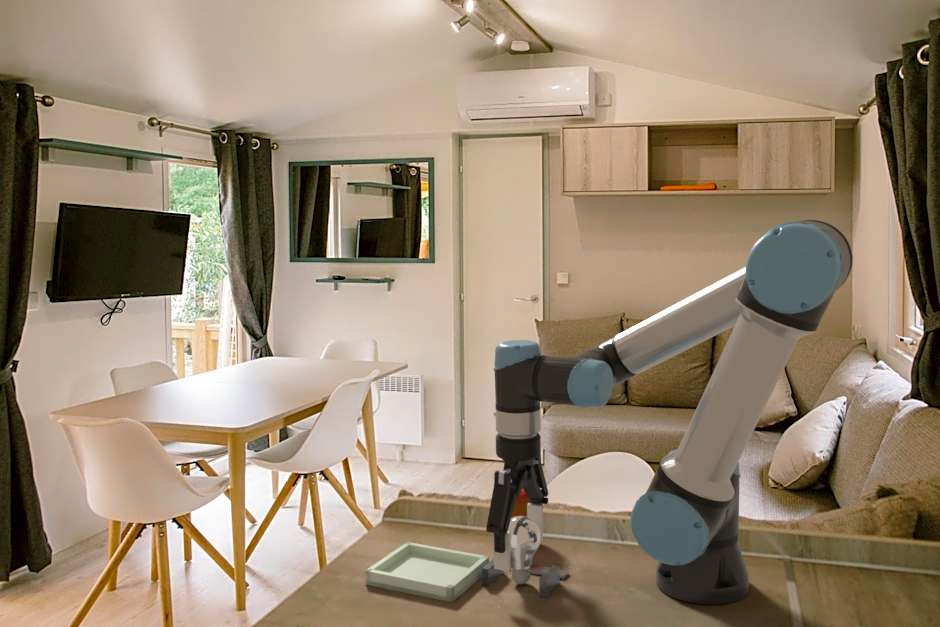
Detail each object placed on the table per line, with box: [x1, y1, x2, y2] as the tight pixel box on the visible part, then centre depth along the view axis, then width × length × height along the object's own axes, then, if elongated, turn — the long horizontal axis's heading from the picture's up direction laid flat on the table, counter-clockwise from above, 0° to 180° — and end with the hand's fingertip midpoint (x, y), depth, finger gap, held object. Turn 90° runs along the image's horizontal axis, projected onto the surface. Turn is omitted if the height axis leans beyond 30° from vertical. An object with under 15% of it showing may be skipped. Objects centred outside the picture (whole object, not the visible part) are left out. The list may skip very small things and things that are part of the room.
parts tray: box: [364, 541, 490, 604], centre depth 155 cm, size 17×14×2 cm
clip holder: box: [481, 558, 570, 598], centre depth 153 cm, size 12×10×3 cm
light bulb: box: [508, 516, 541, 586], centre depth 151 cm, size 7×7×12 cm
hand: (519, 554), depth 151 cm, fingers open, 13 cm apart
